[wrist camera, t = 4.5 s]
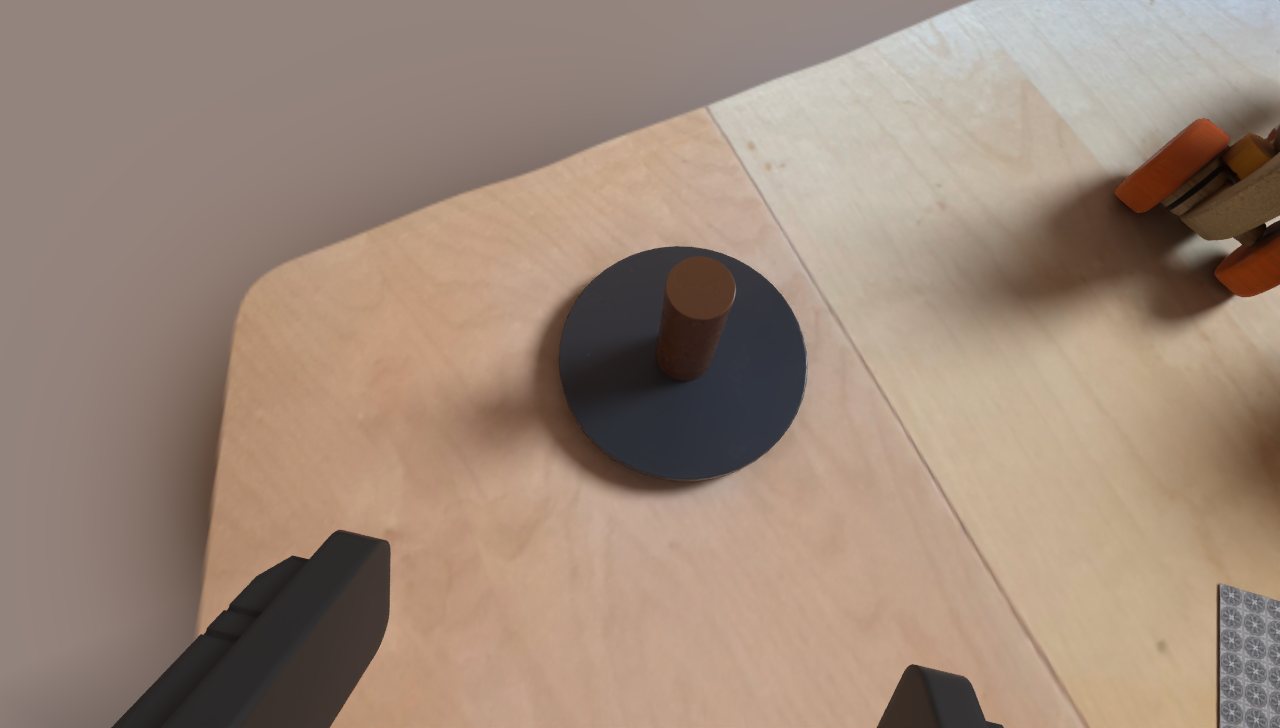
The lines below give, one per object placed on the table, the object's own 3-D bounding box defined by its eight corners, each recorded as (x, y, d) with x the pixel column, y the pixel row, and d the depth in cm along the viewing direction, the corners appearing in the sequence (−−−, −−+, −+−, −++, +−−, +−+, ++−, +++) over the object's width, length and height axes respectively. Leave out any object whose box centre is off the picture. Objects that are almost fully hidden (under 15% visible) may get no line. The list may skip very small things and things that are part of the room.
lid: (560, 488, 30) (539, 448, 22) (560, 260, 34) (543, 158, 26) (816, 479, 30) (882, 436, 22) (786, 255, 34) (834, 153, 26)
